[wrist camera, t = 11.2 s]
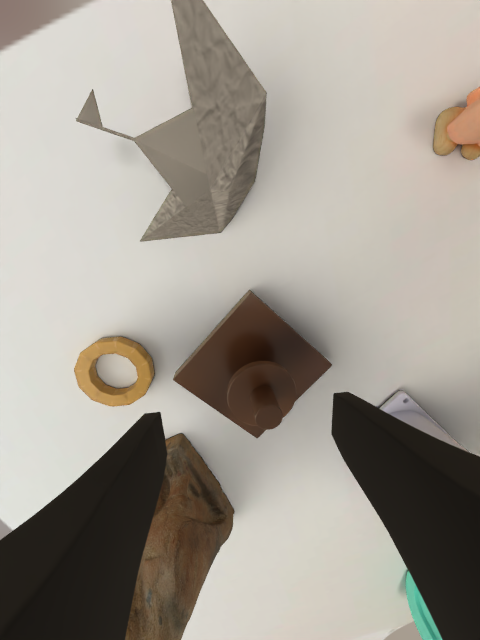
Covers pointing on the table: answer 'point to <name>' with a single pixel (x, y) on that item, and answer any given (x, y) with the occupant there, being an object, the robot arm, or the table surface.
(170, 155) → the paper boat
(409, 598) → the decorative dice
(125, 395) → the brass ring
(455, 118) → the grandmother figurine
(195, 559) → the worn brown figurine
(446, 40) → the table surface
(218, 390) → the peg stand
